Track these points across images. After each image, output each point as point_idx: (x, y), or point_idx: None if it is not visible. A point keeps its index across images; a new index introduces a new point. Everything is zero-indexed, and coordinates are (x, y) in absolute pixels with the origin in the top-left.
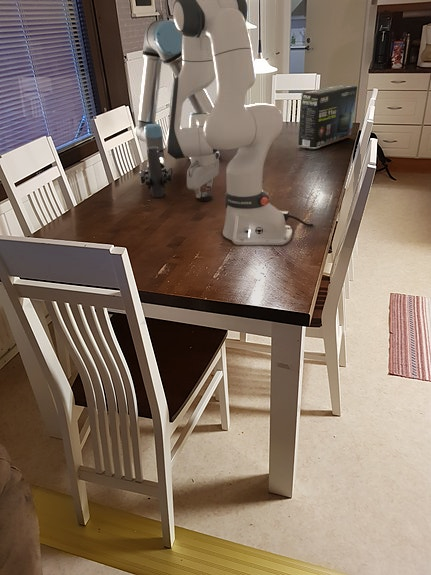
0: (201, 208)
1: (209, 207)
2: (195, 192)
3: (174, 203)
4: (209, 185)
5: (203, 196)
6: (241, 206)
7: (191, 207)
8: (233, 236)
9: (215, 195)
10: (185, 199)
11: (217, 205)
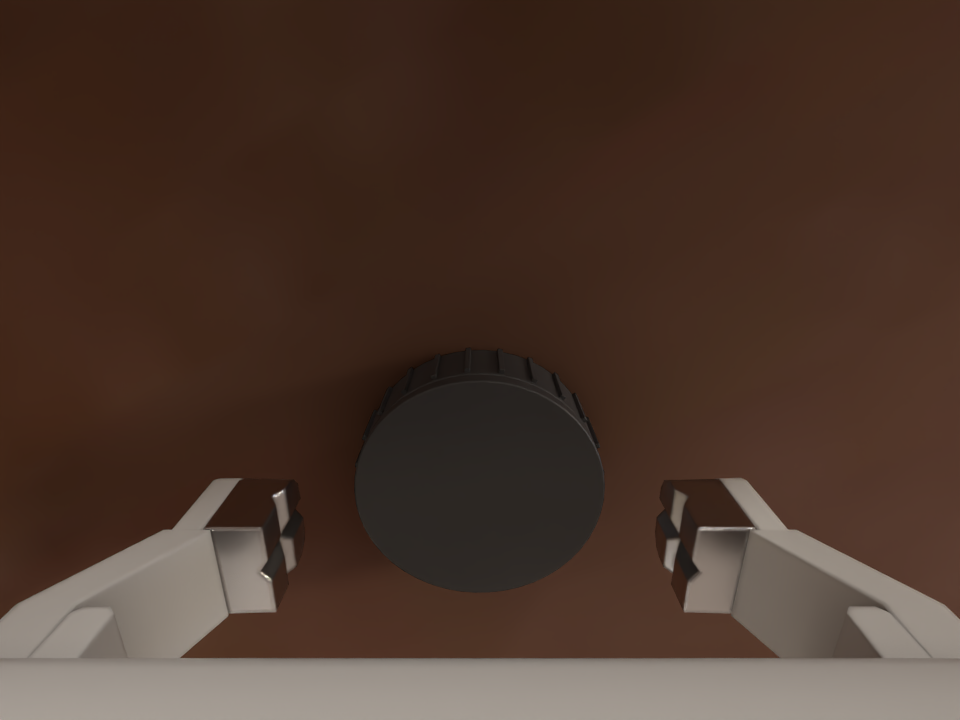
0: None
1: (212, 638)
2: (138, 546)
3: (8, 33)
4: (743, 586)
5: (380, 527)
6: None
7: (61, 435)
8: None
9: None
10: (316, 144)
11: None
